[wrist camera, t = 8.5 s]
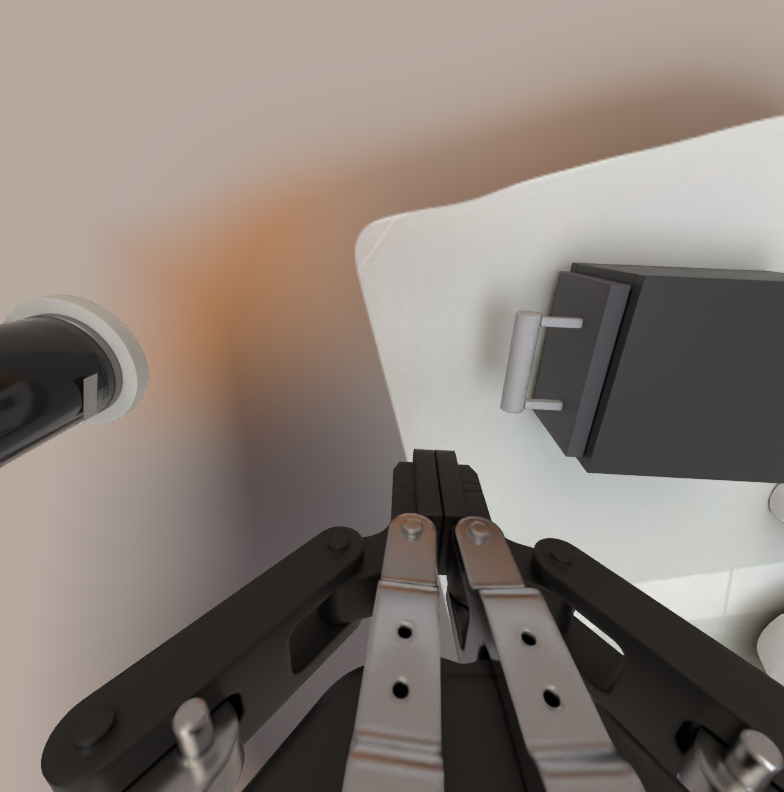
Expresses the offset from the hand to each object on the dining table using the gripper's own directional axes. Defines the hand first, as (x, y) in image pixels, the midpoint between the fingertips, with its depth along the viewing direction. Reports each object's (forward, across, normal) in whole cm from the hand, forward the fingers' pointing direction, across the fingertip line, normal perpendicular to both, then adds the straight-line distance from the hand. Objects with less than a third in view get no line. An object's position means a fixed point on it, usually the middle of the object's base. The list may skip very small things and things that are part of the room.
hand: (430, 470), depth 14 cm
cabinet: (+20, -19, 0) cm, 27 cm away
